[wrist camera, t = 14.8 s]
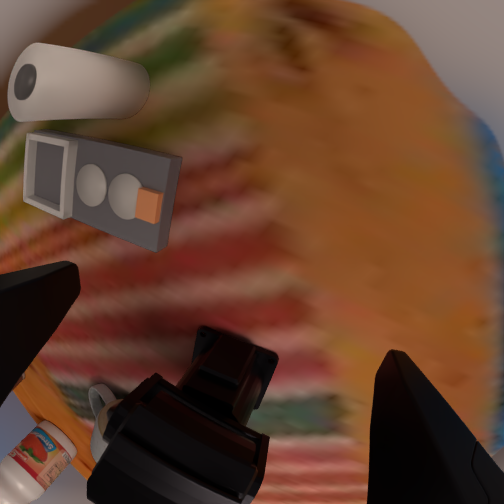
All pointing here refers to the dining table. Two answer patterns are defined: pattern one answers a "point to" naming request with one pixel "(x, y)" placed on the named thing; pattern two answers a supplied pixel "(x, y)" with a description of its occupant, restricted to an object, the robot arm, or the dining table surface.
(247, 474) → the robot arm
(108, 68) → the cream cylinder
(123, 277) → the dining table surface
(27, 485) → the fruit juice
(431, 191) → the dining table surface
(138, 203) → the power strip
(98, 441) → the ceramic mug
